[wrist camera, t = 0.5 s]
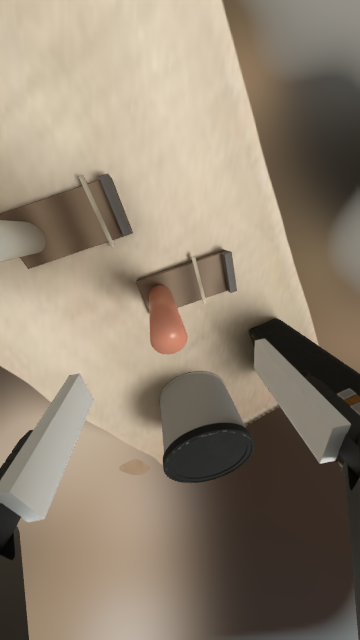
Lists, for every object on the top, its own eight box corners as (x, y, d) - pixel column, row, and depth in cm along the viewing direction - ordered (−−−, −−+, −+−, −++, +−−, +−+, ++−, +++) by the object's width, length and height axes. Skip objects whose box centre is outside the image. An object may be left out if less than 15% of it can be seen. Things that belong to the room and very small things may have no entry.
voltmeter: (243, 329, 40) (358, 449, 18) (278, 312, 40) (439, 414, 18) (258, 372, 48) (352, 493, 26) (287, 358, 47) (409, 469, 25)
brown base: (153, 317, 35) (153, 324, 33) (134, 274, 31) (133, 279, 28) (230, 290, 35) (237, 295, 33) (223, 244, 31) (230, 245, 28)
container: (211, 358, 43) (240, 416, 30) (234, 400, 52) (264, 458, 39) (144, 392, 44) (144, 461, 31) (178, 427, 53) (189, 492, 40)
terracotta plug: (153, 309, 32) (158, 358, 20) (145, 289, 30) (144, 330, 18) (174, 302, 32) (191, 347, 20) (167, 281, 30) (181, 317, 18)
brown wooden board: (38, 273, 28) (27, 277, 26) (-7, 209, 24) (-26, 207, 21) (135, 239, 28) (134, 240, 26) (108, 170, 24) (104, 163, 21)
